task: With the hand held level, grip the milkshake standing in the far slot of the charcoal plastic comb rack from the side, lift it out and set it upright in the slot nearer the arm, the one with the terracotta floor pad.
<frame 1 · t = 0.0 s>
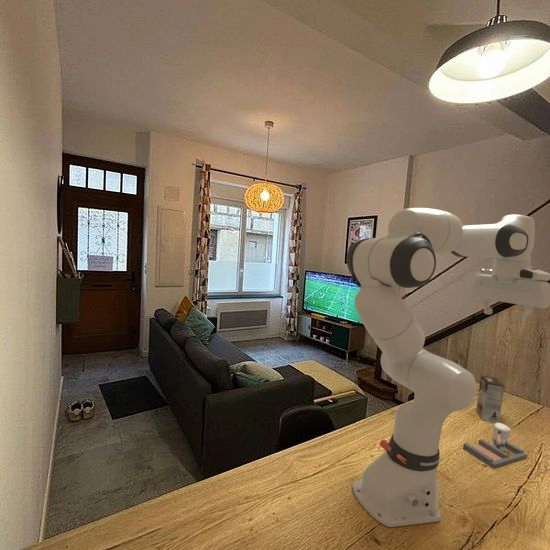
hand: (503, 317, 93), 48 cm above the table, tool pointing down, fingers open, 8 cm apart
comb rack: (492, 452, 107), on the table
coffee box: (487, 417, 132), on the table
milkshake: (500, 450, 109), on the table
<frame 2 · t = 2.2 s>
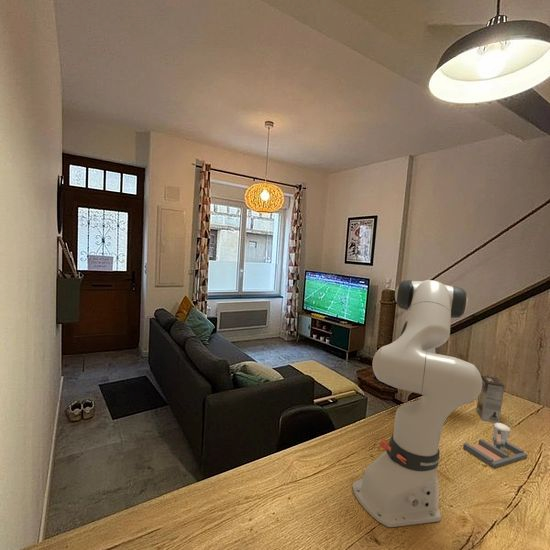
hand: (472, 383, 119), 18 cm above the table, tool horizontal, fingers open, 8 cm apart
nothing on the table moved.
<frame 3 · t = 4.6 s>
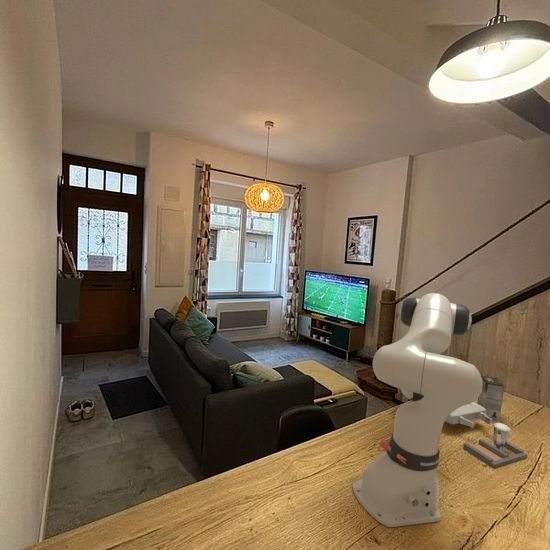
hand: (482, 423, 114), 6 cm above the table, tool horizontal, fingers open, 8 cm apart
nothing on the table moved.
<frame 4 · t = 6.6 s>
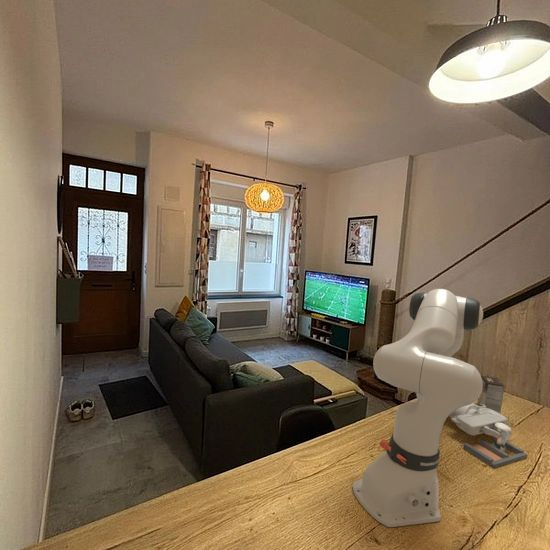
hand: (505, 434, 107), 6 cm above the table, tool horizontal, fingers closed on milkshake, 4 cm apart
milkshake: (500, 450, 109), on the table, touching gripper
everything else where it was.
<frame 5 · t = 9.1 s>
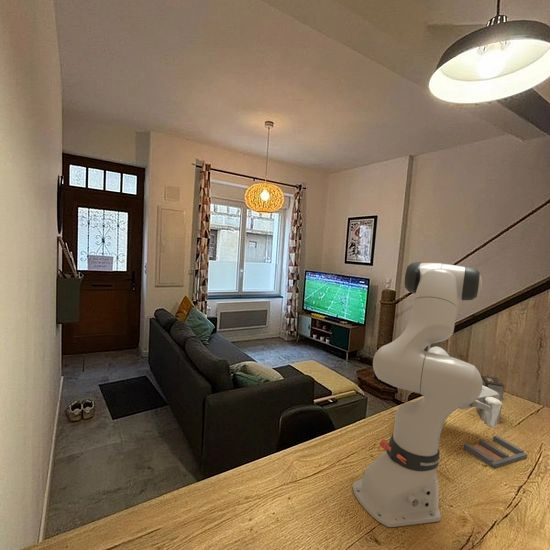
hand: (496, 408, 103), 17 cm above the table, tool horizontal, fingers closed on milkshake, 4 cm apart
milkshake: (491, 425, 105), point 10 cm above the table, touching gripper
everything else where it was.
when the fingers open (7 cm above the table, at t = 11.4 s): milkshake stays where it is, resting on comb rack.
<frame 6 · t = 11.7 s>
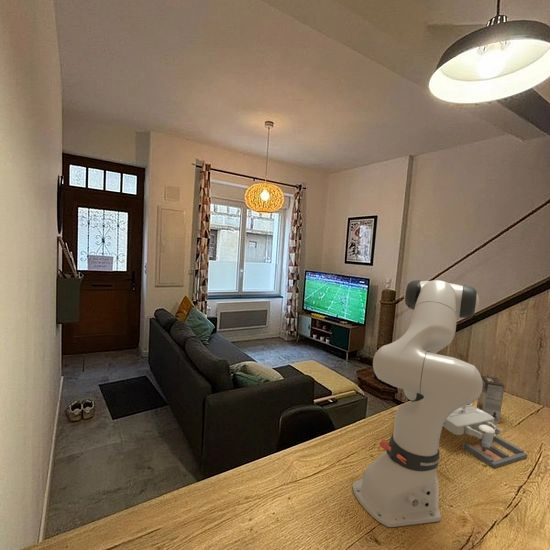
hand: (490, 434, 104), 7 cm above the table, tool horizontal, fingers open, 7 cm apart
milkshake: (486, 453, 106), resting on comb rack
everything else where it was.
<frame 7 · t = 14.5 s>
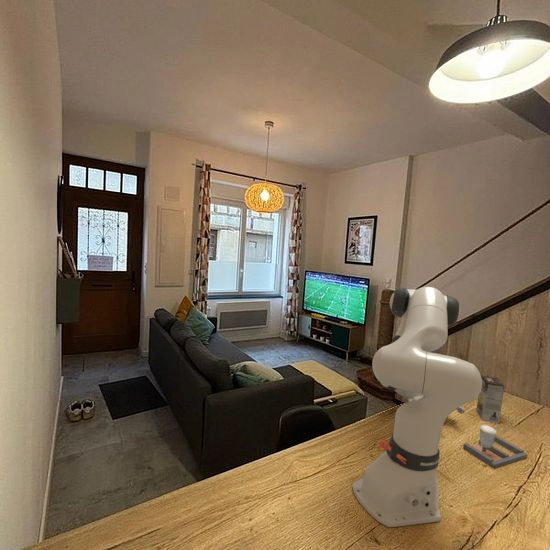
hand: (454, 413, 116), 8 cm above the table, tool horizontal, fingers open, 8 cm apart
nothing on the table moved.
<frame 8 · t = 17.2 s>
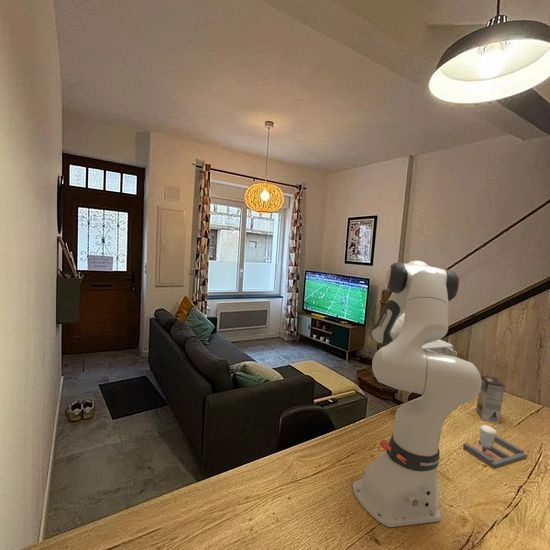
hand: (447, 355, 120), 28 cm above the table, tool horizontal, fingers open, 8 cm apart
nothing on the table moved.
at the end: milkshake tilted 0°; the gripper is holding nothing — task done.
